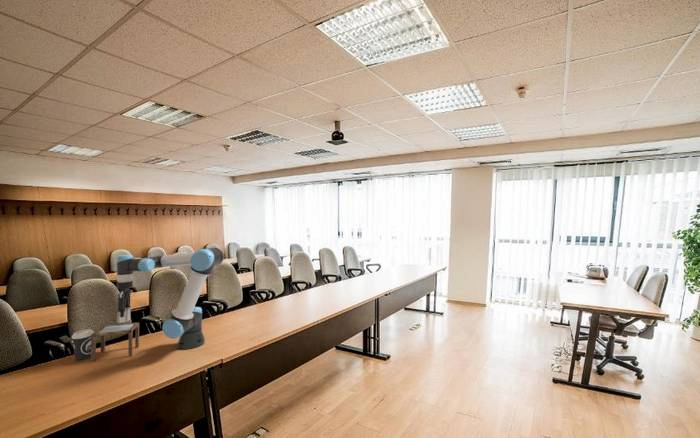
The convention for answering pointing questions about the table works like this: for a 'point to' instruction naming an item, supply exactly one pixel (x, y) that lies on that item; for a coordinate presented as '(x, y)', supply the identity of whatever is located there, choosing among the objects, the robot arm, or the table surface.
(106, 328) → the hatch
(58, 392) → the table surface
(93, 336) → the hatch frame
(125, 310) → the stone
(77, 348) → the coffee cup
